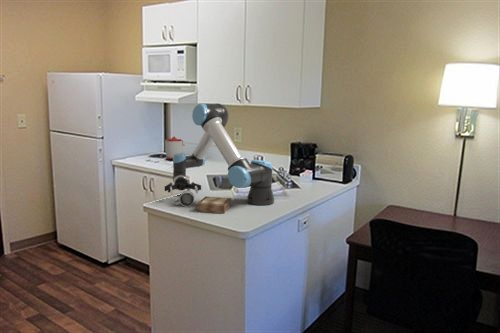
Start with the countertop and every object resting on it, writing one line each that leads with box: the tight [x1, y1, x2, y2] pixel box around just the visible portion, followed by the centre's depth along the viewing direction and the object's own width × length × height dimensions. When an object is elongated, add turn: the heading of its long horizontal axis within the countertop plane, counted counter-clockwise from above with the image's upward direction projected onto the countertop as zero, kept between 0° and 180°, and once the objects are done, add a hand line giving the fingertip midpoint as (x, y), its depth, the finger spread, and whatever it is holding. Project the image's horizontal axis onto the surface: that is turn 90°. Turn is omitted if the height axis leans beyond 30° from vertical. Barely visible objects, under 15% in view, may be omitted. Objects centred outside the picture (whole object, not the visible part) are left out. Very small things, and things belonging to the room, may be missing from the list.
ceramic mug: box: [173, 190, 195, 208], centre depth 217 cm, size 11×8×8 cm
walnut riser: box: [196, 196, 232, 214], centre depth 212 cm, size 14×15×4 cm
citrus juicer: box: [164, 136, 186, 160], centre depth 358 cm, size 16×17×20 cm
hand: (184, 191), depth 223 cm, fingers open, 13 cm apart
